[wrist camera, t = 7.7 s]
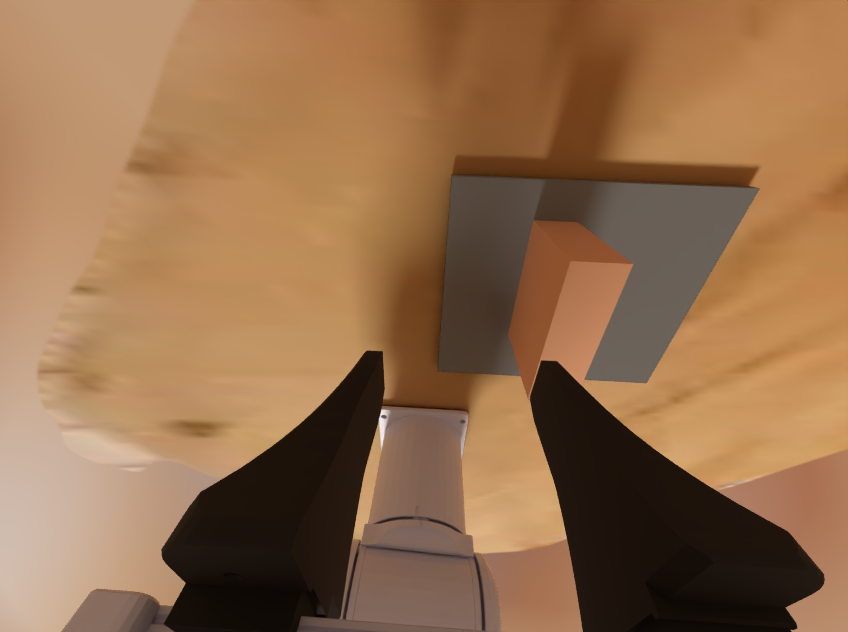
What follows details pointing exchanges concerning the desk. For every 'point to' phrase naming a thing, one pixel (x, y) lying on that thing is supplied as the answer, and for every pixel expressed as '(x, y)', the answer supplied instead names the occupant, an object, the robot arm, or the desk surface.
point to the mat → (612, 223)
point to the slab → (564, 298)
